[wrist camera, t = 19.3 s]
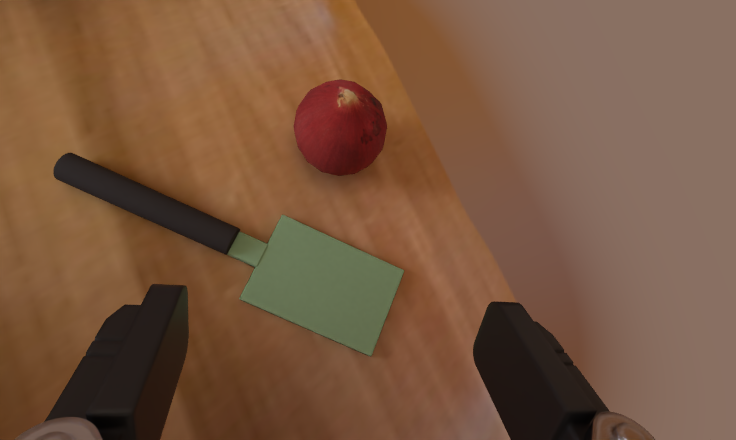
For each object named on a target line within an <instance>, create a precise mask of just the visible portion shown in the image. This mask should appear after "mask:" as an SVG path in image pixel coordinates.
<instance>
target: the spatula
mask: <svg viewBox="0 0 736 440" xmlns="http://www.w3.org/2000/svg"><path fill="white" fill-rule="evenodd" d="M54 177H55V178H56V179H58V180H60V181H62V182H64V183H66V184H69V185H71V186H73V187H75V188H78V189H80V190H82V191H84V192H87V193H89V194H91V195H93V196H96V197H98V198H100V199H102V200H105V201H107V202H109V203H111V204H114V205H116V206H118V207H120V208H123V209H125V210H127V211H129V212H132V213H134V214H136V215H138V216H141V217H143V218H145V219H147V220H149V221H152V222H154V223H156V224H158V225H161V226H163V227H165V228H167V229H170V230H172V231H174V232H176V233H179V234H181V235H183V236H185V237H188V238H190V239H192V240H194V241H197V242H199V243H201V244H203V245H206V246H208V247H210V248H212V249H215V250H217V251H219V252H221V253H224V254H226V255H229V256H231V257H233V258H235V259H238V260H240V261H242V262H244V263H247V264H249V265H251V266H253V267H255V269H254V271H253V273H252V275H251V277H250V279H249V281H248V283H247V285H246V287H245V289H244V290H243V292H242V294H241V296H240V300H242V301H244V302H247V303H249V304H251V305H253V306H256V307H258V308H260V309H263V310H265V311H267V312H269V313H272V314H274V315H276V316H279V317H281V318H283V319H285V320H288V321H290V322H292V323H295V324H297V325H299V326H301V327H304V328H306V329H308V330H311V331H313V332H315V333H317V334H320V335H322V336H324V337H327V338H329V339H331V340H333V341H336V342H338V343H340V344H343V345H345V346H347V347H349V348H352V349H354V350H356V351H359V352H361V353H363V354H365V355H368V356H372V353H373V351H374V348H375V346H376V343H377V340H378V338H379V335H380V333H381V330H382V327H383V325H384V322H385V320H386V317H387V314H388V312H389V309H390V307H391V304H392V302H393V299H394V296H395V294H396V291H397V289H398V286H399V283H400V281H401V278H402V276H403V273H404V270H402V269H400V268H398V267H396V266H394V265H391V264H389V263H387V262H385V261H383V260H380V259H378V258H376V257H374V256H372V255H370V254H367V253H365V252H363V251H361V250H359V249H357V248H354V247H352V246H350V245H348V244H346V243H344V242H341V241H339V240H337V239H335V238H333V237H330V236H328V235H326V234H324V233H322V232H320V231H317V230H315V229H313V228H311V227H309V226H307V225H304V224H302V223H300V222H298V221H296V220H294V219H291V218H289V217H287V216H285V215H282V216H281V218H280V220H279V222H278V224H277V226H276V228H275V230H274V232H273V234H272V236H271V237H270V239H269V241H268V243H264V242H262V241H260V240H258V239H255V238H253V237H251V236H249V235H247V234H244V233H242V232H240V229H239V228H237V227H235V226H232V225H230V224H228V223H226V222H223V221H221V220H219V219H217V218H215V217H212V216H210V215H208V214H206V213H204V212H201V211H199V210H197V209H195V208H193V207H190V206H188V205H186V204H184V203H182V202H179V201H177V200H175V199H173V198H170V197H168V196H166V195H164V194H162V193H159V192H157V191H155V190H153V189H151V188H148V187H146V186H144V185H142V184H140V183H137V182H135V181H133V180H131V179H128V178H126V177H124V176H122V175H120V174H117V173H115V172H113V171H111V170H109V169H106V168H104V167H102V166H100V165H98V164H95V163H93V162H91V161H89V160H87V159H84V158H82V157H80V156H78V155H75V154H73V153H67V154H65V155H63V156H62V157H61V158H60V159H59V160H58V161H57V163H56V165H55V167H54Z"/></svg>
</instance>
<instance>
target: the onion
mask: <svg viewBox="0 0 736 440" xmlns="http://www.w3.org/2000/svg"><path fill="white" fill-rule="evenodd" d="M386 130H387V124H386V119H385V116H384V112H383V108H382V105H381V103H380V102H379V101H378V100H377V99H376V98H375V97H374V96H373V95H372V94H371V93H370V92H369V91H368V90H366V89H365V88H363V87H362V86H360V85H358V84H357V83H355V82H352V81H346V80H334V81H328V82H325V83H323V84H321V85H319V86H317V87H315V88H313V89H311V90H310V91H309V92H308V93H307V95H306V96H305V97H304V99H303V100H302V102H301V103H300V105H299V106H298V109H297V111H296V117H295V122H294V132H295V136H296V140H297V145H298V148H299V149H300V151H301V152H302V154H303V155H304V157H305V158H306V160H307V161H308V162H309V163H310V164H312V165H313V166H315V167H316V168H317V169H319V170H320V171H321V172H325V173H329V174H333V175H338V176H341V175H348V174H355V173H357V172H359V171H360V170H362V169H364V168H366V167H368V166H369V165H370V164H371V163H372V162H373V161H374V160H375V158H376V157H377V156H378V154H379V153H380V152H381V150H382V148H383V145H384V140H385V135H386Z"/></svg>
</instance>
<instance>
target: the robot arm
mask: <svg viewBox="0 0 736 440" xmlns="http://www.w3.org/2000/svg"><path fill="white" fill-rule="evenodd" d="M188 338H189V327H188V292H187V287H186V286H184V285H164V284H152V285H151V286H150V288H149V290H148V292H147V294H146V296H145V298H144V300H143V302H142V304H141V305H124V306H122V307H121V308H120V309H118V310H117V311H116V312H115V313H113V314H112V315H111V316H110V317H108V318H107V319H106V320H105V322H104V323H103V325H102V327H101V328H100V330H99V332H98V333H97V335H96V337H95V341H93V342H92V343H91V345H90V347H89V348H88V350H87V352H86V356H84V357H83V358H82V360H81V362H80V364H79V365H78V367H77V369H76V370H75V372H74V374H73V375H72V377H71V379H70V380H69V382H68V384H67V385H66V387H65V389H64V390H63V392H62V394H61V395H60V397H59V399H58V400H57V402H56V404H55V405H54V407H53V409H52V410H51V412H50V414H49V416H48V417H47V418H46V420H45V421H44V422H43V423H41V424H38V425H36V426H34V427H32V428H30V429H28V430H27V431H25V432H24V433H22V434H21V435H19V436H18V437H17V438H16V439H14V440H160V437H161V434H162V431H163V428H164V425H165V422H166V418H167V415H168V412H169V409H170V406H171V402H172V399H173V396H174V393H175V390H176V387H177V383H178V380H179V377H180V374H181V371H182V367H183V364H184V361H185V357H186V353H187V347H188ZM473 356H474V361H475V365H476V367H477V369H478V371H479V373H480V375H481V378H482V380H483V382H484V384H485V386H486V388H487V390H488V392H489V394H490V397H491V399H492V401H493V403H494V405H495V407H496V409H497V411H498V413H499V416H500V418H501V420H502V422H503V424H504V426H505V428H506V430H507V432H508V435H509V437H510V439H511V440H655V439H654V437H653V436H652V435H651V434H650V433H649V432H648V431H647V430H646V429H645V428H643V427H642V426H641V425H640V424H638V423H637V422H635V421H634V420H632V419H630V418H628V417H626V416H624V415H621V414H618V413H614V412H610V411H609V410H608V408H607V407H606V406H605V404H604V403H603V402H602V400H601V399H600V398H599V396H598V395H597V394H596V392H595V391H594V390H593V388H592V387H591V386H590V384H589V383H588V382H587V380H586V379H585V377H584V376H583V375H582V373H581V372H580V371H579V370H578V368H577V367H576V366H574V365H573V361H572V360H571V359H570V357H569V356H568V355H567V353H564V349H563V348H562V346H561V345H560V344H559V342H558V341H557V340H556V339H555V338H554V336H553V335H552V334H551V333H550V332H548V331H547V330H546V329H545V328H544V327H542V326H541V325H540V324H539V323H538V322H534V321H533V320H532V319H531V317H530V316H529V314H528V313H527V311H526V310H525V309H524V307H523V306H522V305H521V304H520V303H513V302H491V303H490V304H489V305H488V307H487V310H486V312H485V315H484V318H483V320H482V323H481V326H480V328H479V331H478V334H477V336H476V339H475V342H474V347H473Z"/></svg>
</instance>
